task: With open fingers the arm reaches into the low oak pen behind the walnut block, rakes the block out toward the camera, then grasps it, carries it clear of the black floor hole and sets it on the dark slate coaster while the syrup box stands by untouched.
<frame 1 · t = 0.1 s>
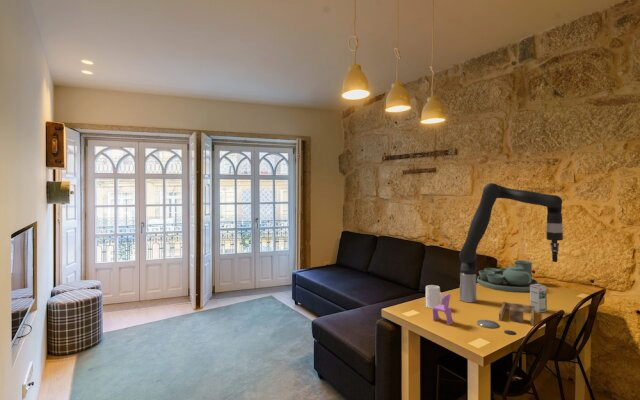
hand: (554, 260, 191), 29 cm above the table, fingers open, 8 cm apart
slate coaster: (487, 324, 176), on the table
walnut block: (516, 320, 181), on the table
tea set: (507, 285, 251), on the table
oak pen: (517, 316, 187), on the table
syrup box: (538, 310, 195), on the table
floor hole: (510, 332, 165), on the table
mug: (435, 308, 203), on the table
toy chair: (442, 321, 181), on the table
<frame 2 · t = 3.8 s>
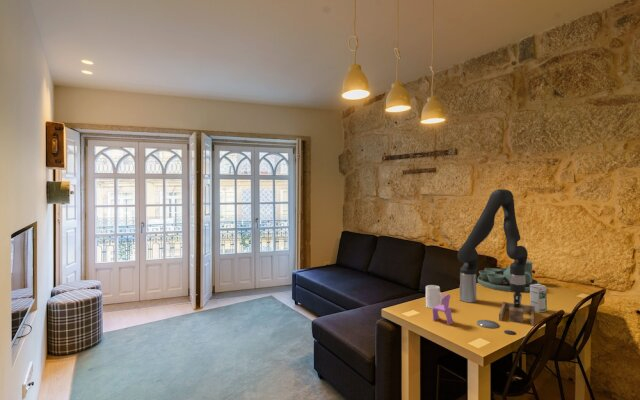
hand: (517, 311, 189), 2 cm above the table, fingers open, 8 cm apart
walnut block: (516, 320, 181), on the table, touching gripper
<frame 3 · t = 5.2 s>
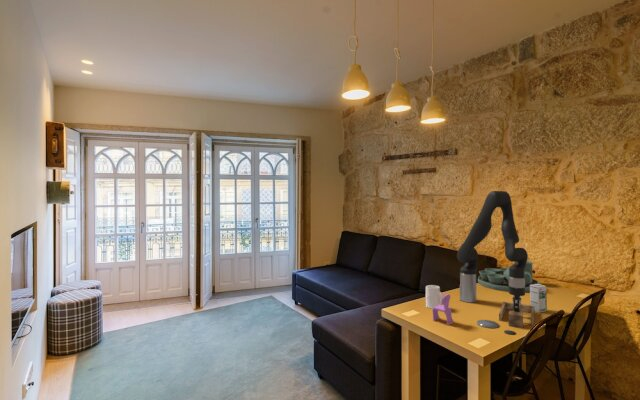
hand: (517, 315, 183), 2 cm above the table, fingers open, 8 cm apart
walnut block: (515, 325, 175), on the table, touching gripper
everything else where it was.
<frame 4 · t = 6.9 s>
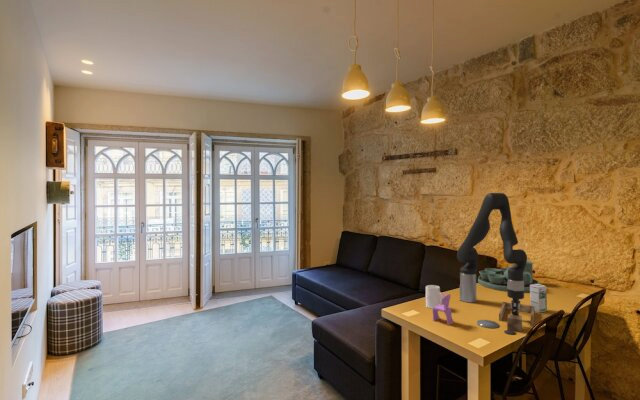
hand: (515, 319, 178), 2 cm above the table, fingers open, 8 cm apart
walnut block: (514, 329, 170), on the table, touching gripper
everything else where it was.
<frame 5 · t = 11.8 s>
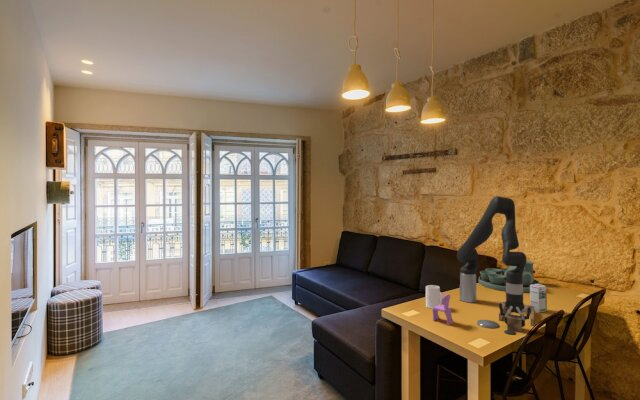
hand: (514, 325, 171), 1 cm above the table, fingers closed on walnut block, 6 cm apart
walnut block: (514, 329, 170), on the table, touching gripper
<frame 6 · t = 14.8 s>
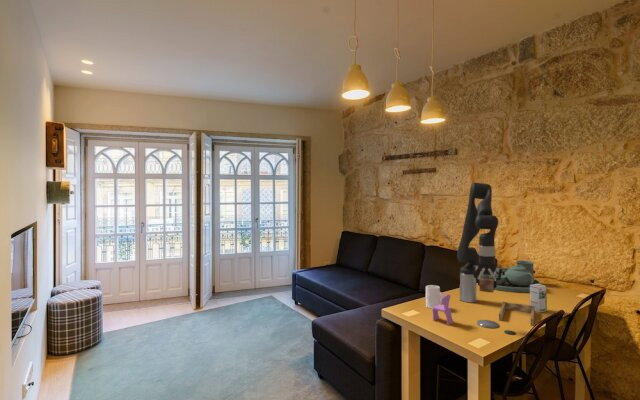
hand: (487, 287, 176), 19 cm above the table, fingers closed on walnut block, 6 cm apart
walnut block: (486, 290, 174), point 18 cm above the table, touching gripper
when the fingers open (3 cm above the table, at t = 18.2 s): walnut block drops 1 cm, resting on slate coaster.
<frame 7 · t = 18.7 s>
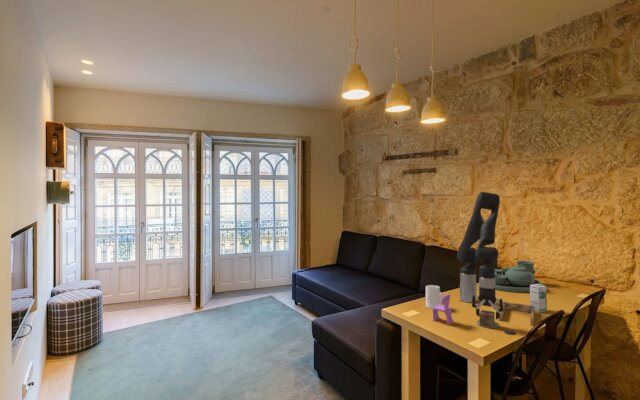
hand: (487, 317, 176), 4 cm above the table, fingers open, 8 cm apart
walnut block: (487, 324, 175), point 1 cm above the table, touching slate coaster
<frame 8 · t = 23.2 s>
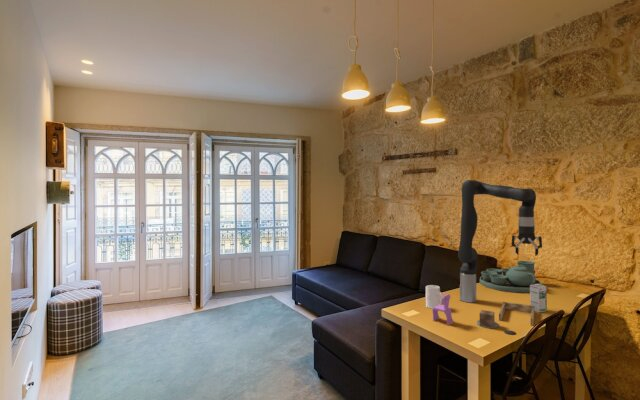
hand: (526, 254, 187), 33 cm above the table, fingers open, 8 cm apart
at the end: walnut block 1.6 cm from the slate coaster (horizontally); walnut block tilted 0°; the gripper is holding nothing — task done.
